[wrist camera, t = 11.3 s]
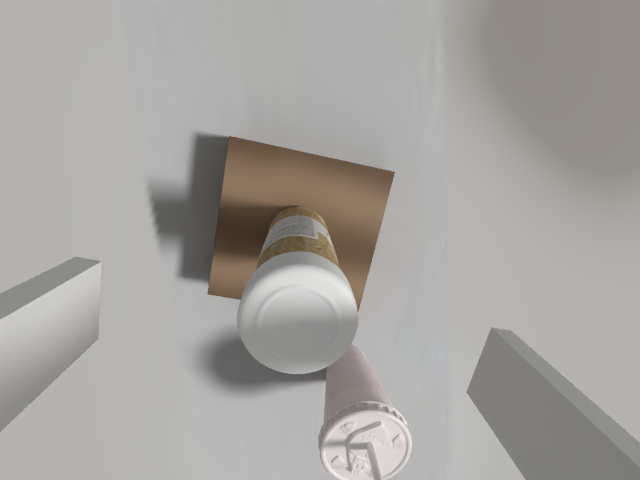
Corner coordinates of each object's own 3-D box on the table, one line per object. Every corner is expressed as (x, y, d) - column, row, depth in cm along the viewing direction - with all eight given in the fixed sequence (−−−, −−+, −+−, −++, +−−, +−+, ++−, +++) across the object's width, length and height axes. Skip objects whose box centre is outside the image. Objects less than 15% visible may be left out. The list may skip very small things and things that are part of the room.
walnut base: (237, 137, 26) (229, 136, 23) (384, 169, 27) (394, 172, 24) (216, 279, 29) (207, 294, 26) (350, 302, 30) (356, 318, 27)
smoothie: (390, 344, 31) (459, 489, 18) (363, 398, 33) (408, 570, 19) (328, 323, 30) (351, 460, 17) (302, 379, 32) (306, 548, 18)
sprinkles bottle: (329, 260, 26) (362, 374, 13) (270, 265, 26) (242, 385, 13) (326, 202, 24) (358, 262, 12) (264, 206, 24) (226, 272, 11)
